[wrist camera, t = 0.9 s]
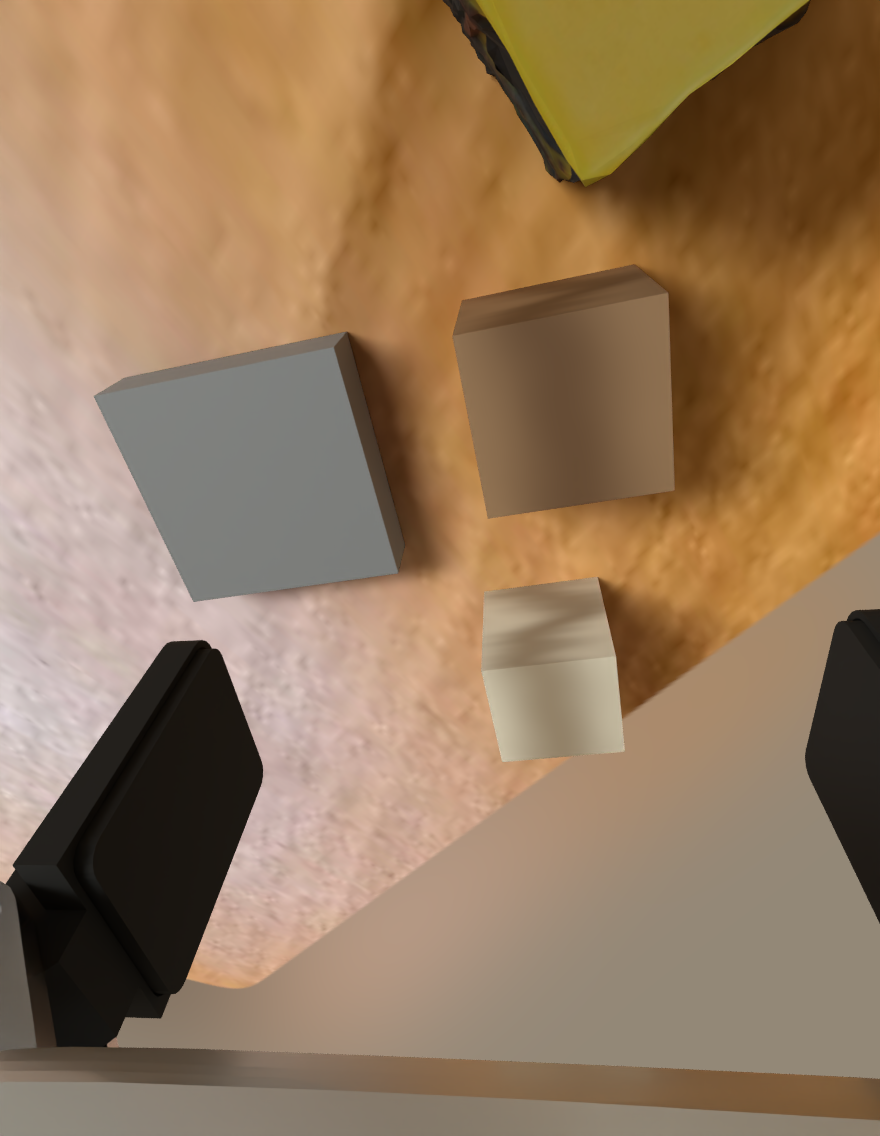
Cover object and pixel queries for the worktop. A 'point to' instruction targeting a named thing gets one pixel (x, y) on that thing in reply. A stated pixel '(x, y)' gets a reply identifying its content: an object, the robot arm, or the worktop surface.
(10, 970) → the robot arm
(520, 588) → the maple block
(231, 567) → the slate slab
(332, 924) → the worktop surface
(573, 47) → the yellow holed cube
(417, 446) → the worktop surface
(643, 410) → the walnut block
